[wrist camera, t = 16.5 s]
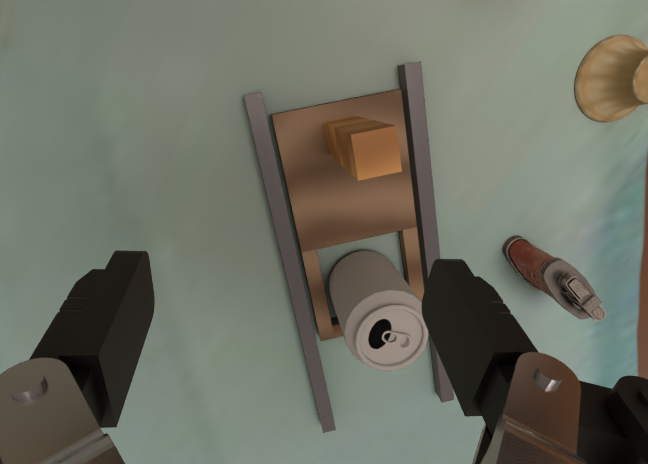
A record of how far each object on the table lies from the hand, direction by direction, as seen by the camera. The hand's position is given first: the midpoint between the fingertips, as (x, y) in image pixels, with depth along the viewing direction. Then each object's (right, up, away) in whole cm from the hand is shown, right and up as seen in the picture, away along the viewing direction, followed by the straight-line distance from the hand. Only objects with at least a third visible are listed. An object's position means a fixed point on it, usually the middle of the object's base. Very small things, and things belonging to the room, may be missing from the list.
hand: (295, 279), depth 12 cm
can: (+5, -4, +34) cm, 35 cm away
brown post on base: (+4, +2, +31) cm, 32 cm away
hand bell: (+30, +17, +31) cm, 46 cm away
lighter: (+24, -2, +36) cm, 44 cm away
